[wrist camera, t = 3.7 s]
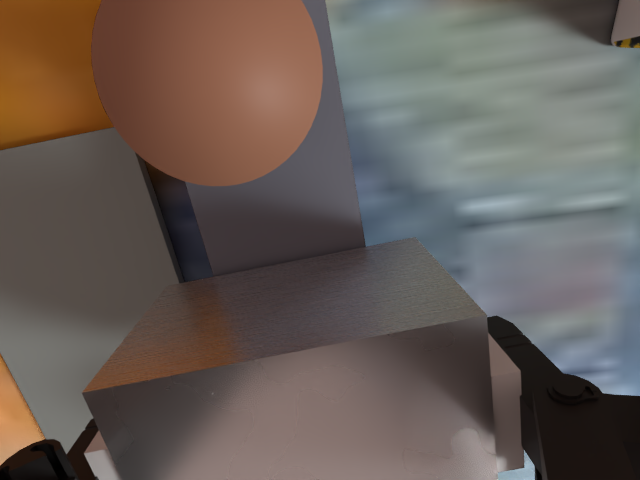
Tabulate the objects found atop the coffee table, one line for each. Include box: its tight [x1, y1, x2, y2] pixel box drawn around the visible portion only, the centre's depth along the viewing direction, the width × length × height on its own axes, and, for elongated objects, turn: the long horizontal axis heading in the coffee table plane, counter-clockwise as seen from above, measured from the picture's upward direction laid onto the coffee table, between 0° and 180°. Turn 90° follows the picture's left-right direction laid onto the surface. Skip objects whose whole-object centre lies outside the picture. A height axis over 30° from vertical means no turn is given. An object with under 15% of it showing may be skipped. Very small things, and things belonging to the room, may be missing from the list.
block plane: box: [91, 0, 366, 277], centre depth 13 cm, size 20×5×10 cm, turn 11°
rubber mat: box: [0, 127, 184, 454], centre depth 18 cm, size 16×9×1 cm, turn 11°
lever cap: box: [82, 237, 498, 480], centre depth 11 cm, size 6×8×5 cm
